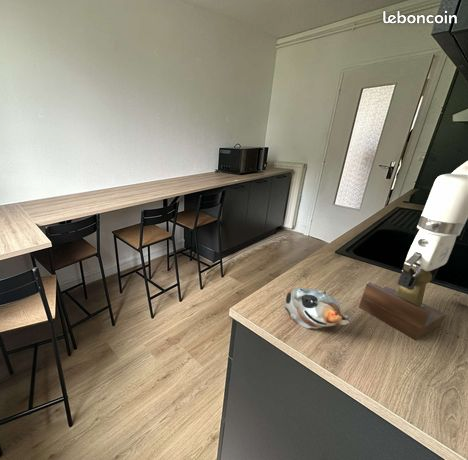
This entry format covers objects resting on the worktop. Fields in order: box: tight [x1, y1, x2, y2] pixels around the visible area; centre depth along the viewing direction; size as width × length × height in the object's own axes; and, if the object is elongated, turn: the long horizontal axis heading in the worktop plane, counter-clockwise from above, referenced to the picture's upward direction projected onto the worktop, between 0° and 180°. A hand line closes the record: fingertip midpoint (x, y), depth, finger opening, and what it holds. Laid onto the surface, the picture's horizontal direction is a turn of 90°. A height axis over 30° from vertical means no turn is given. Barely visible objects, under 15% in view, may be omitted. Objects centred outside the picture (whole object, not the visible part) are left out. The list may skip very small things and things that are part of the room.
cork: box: [395, 267, 432, 307], centre depth 70 cm, size 6×6×11 cm
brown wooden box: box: [358, 281, 447, 341], centre depth 71 cm, size 12×14×9 cm
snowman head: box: [284, 287, 352, 330], centre depth 70 cm, size 15×12×14 cm
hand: (415, 282), depth 69 cm, fingers open, 9 cm apart
